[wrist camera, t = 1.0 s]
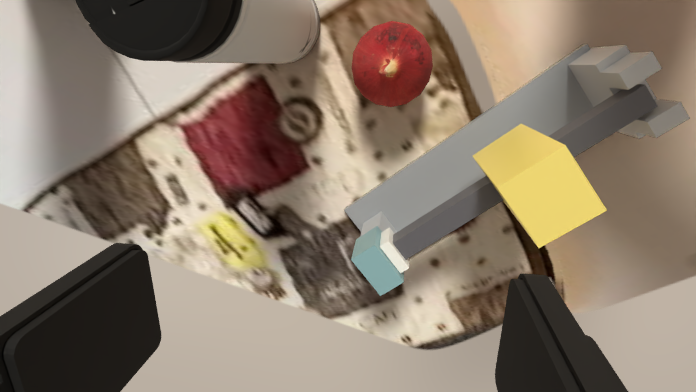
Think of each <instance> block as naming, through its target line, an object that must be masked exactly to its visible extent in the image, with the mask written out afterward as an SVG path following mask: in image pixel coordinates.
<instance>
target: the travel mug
mask: <svg viewBox="0 0 696 392" xmlns="http://www.w3.org/2000/svg"><path fill="white" fill-rule="evenodd" d="M76 3H77V5H78V7H79V8H80V10H81V12H82V14H83V16H84V17H85V19H86V20H87V21H88V22H89V23H90V24H89V26H90V27H91V29H92V30H93V31H94V32H95V33H96V35H97V36H98V37H99V38H100V39H101V41H102V42H103V43H104V44H105V45H107V46H108V47H110V48H111V49H113V50H114V51H116V52H118V53H120V54H122V55H125V56H127V57H129V58H134V59H138V60H143V61H173V62H188V63H291V62H295V61H297V60H299V59H301V58H303V57H304V56H305V55H307V54H308V53H309V52H310V50H311V49H312V48H313V46H314V44H315V43H316V41H317V38H318V34H319V29H320V17H319V12H318V8H317V6H316V3H315V1H314V0H76Z"/></svg>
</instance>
